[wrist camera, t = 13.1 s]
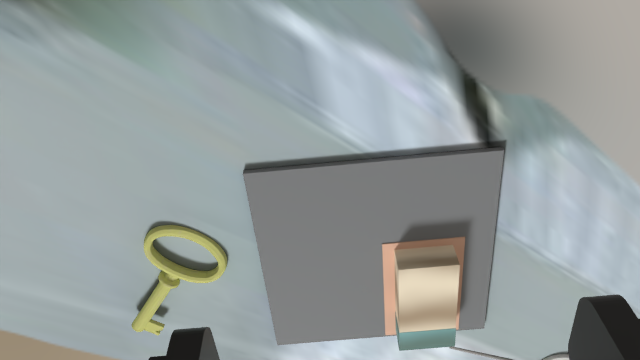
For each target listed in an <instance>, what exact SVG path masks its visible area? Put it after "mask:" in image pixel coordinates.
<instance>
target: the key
mask: <svg viewBox="0 0 640 360" xmlns="http://www.w3.org/2000/svg"><path fill="white" fill-rule="evenodd" d="M163 236H175V237H182V238H186V239H189V240H192V241H194V242H196V243H198V244H200V245H202V246H203V247H205V248H206V249H207V250H209V251H210V252H211V253H212V255H213V256H214V257H215V258H216V260H217V261H218V266H217V267H216V268H215V269H213V270H211V271H198V270H192V269H189V268H186V267H183V266H180V265H178V264H176V263H174V262H172V261H170V260H168V259H166V258H165V257H163V256H162V255H161V254H160V253H159V252H158V251H157V250H156V249H155V248H154V246H153V241H154V240H155V239H156V238H159V237H163ZM144 252H145V255H146V257H147V258H148V259H149V260H150V261H151V263H152V264H154V265H155V266H156V267H157V268H159V269H160V270H162V271H161V272H160V274H159V276H158V279H159V281H160V282H159V283H158V285H157V286H156V288H155V289H154V291H153V292H152V294H151V295H150V297H149V299H148V300H147V302H146V303H145V305H144V306H143V308H142V309H141V311H140V312H139V314H138V315H137V317H136V318H135V320H134V321H133V323H132V328H133V329H134V330H135V331H138V332H141V331H143V330H146V331H148V332H151V333H154V334H156V335H159V334H160V330H161V331H162V330H163V328H164V325H165V324H162V323H159V322H157V321H154V320H152V319H151V318H152V316H153V315H154V313H155V312H156V310H157V309H158V307H159V306H160V304H161V303H162V301H163V300H164V298H165V297H166V295H167V294H168V292H169V291H170V289H171V288H176V287H178V285H179V283H180V279H182V280H186V281H189V282H195V283H208V282H212V281H215V280H217V279H218V278H220V276H221V275H222V274H223V273H224V271H225V269H226V266H227V256H226V254H225V252H224V251H223V249H222V248H221V247H220V246H219V245H218V244H217V243H216V242H215V241H213V240H212V239H210V238H209V237H207V236H205V235H203V234H201V233H199V232H197V231H195V230H192V229H189V228H186V227H182V226H175V225H163V226H158V227H155V228H153V229H152V230H150V231H149V233H148V234H147V235H146V237H145V240H144Z"/></svg>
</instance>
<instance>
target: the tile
mask: <svg viewBox="0 0 640 360" xmlns="http://www.w3.org/2000/svg"><path fill="white" fill-rule="evenodd" d="M394 263H395V310H396V312H395V321H396V334H397V339H398V345H399V350H400V351H401V350H414V349H426V348H438V347H451V346H455V335H456V316H457V301H458V286H459V271H460V264H459V261H458V258H457V255H456V252H455V249H454V246H453V245H444V246H432V247H421V248H409V249H398V250H394Z"/></svg>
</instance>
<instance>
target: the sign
mask: <svg viewBox="0 0 640 360" xmlns="http://www.w3.org/2000/svg"><path fill="white" fill-rule="evenodd" d="M450 348H451V349H455V350H459V351H464V352H468V353H472V354H477V355H481V356H485V357H489V358H494V359H498V360H511V359H507V358H502V357H498V356H493V355H489V354H484V353H479V352H475V351H470V350H465V349H461V348H456V347H450ZM542 360H569V355H568V354H557V355H552V356H549V357H546V358H544V359H542Z"/></svg>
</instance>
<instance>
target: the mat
mask: <svg viewBox="0 0 640 360" xmlns="http://www.w3.org/2000/svg"><path fill="white" fill-rule="evenodd" d="M503 156H504V149H503V148H502V147H497V148H485V149H474V150H463V151H452V152H441V153H430V154H419V155H408V156H397V157H386V158H375V159H364V160H353V161H342V162H331V163H319V164H308V165H297V166H286V167H275V168H264V169H253V170H244V171H243V176H244V181H245V186H246V191H247V196H248V201H249V206H250V211H251V216H252V221H253V226H254V231H255V236H256V241H257V246H258V251H259V256H260V261H261V266H262V271H263V276H264V281H265V285H266V290H267V295H268V300H269V305H270V310H271V315H272V320H273V325H274V330H275V335H276V340H277V345H284V344H297V343H309V342H321V341H334V340H346V339H358V338H371V337H383V336H395V335H397V334H396V321H395V312H396V310H395V263H394V250H398V249H409V248H421V247H432V246H444V245H453V246H454V249H455V252H456V255H457V258H458V261H459V264H460V271H459V286H458V301H457V316H456V331H457V330H469V329H481V328H484V325H485V316H486V307H487V298H488V289H489V281H490V272H491V263H492V254H493V245H494V236H495V227H496V218H497V209H498V200H499V191H500V182H501V173H502V164H503Z"/></svg>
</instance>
